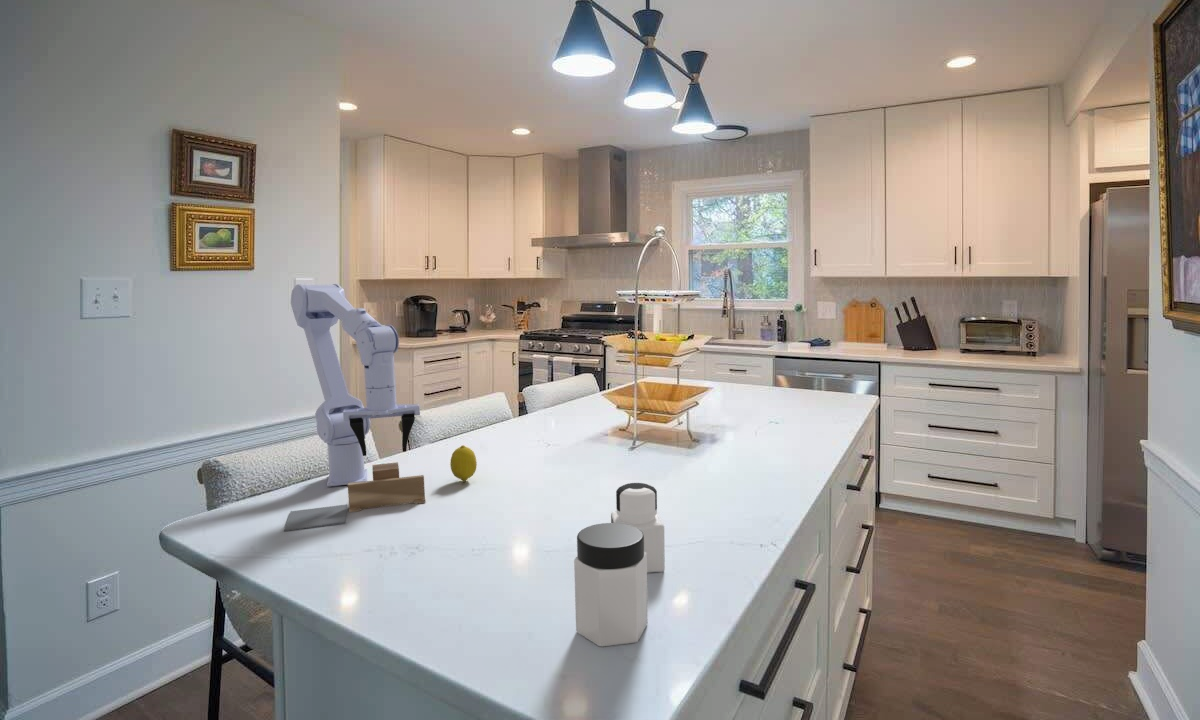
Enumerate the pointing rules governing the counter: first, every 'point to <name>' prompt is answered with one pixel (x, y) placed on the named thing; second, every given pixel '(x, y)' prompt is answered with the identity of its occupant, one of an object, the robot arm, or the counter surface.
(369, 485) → the screen
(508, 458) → the counter surface
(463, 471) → the lemon
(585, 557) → the jar
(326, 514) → the mat
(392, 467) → the letter block
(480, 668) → the counter surface
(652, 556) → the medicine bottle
